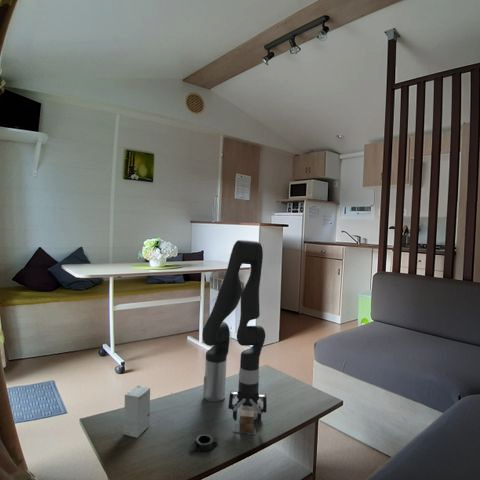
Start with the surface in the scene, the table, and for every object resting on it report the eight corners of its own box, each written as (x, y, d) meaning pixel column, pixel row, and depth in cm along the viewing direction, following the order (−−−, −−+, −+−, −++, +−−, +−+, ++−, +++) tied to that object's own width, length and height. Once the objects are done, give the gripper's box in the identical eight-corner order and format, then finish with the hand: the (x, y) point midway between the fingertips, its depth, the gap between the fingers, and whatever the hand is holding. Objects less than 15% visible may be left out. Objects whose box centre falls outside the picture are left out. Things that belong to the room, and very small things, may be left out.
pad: (233, 432, 129) (233, 431, 129) (235, 424, 134) (235, 423, 134) (255, 434, 129) (255, 433, 129) (256, 426, 134) (256, 425, 134)
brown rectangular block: (239, 431, 130) (240, 415, 129) (240, 425, 134) (241, 409, 133) (252, 432, 129) (253, 417, 129) (253, 426, 133) (254, 411, 133)
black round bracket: (218, 455, 117) (218, 446, 117) (188, 455, 116) (188, 446, 116) (218, 440, 125) (219, 432, 125) (190, 440, 124) (190, 432, 124)
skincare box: (137, 438, 123) (138, 397, 123) (122, 434, 125) (123, 394, 124) (150, 425, 131) (151, 387, 130) (136, 422, 133) (137, 384, 132)
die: (265, 423, 137) (265, 396, 143) (253, 420, 131) (253, 392, 137) (247, 424, 142) (248, 397, 147) (235, 421, 136) (236, 393, 141)
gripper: (228, 381, 127) (226, 424, 128) (267, 385, 126) (265, 428, 127) (231, 372, 135) (229, 413, 136) (268, 376, 133) (266, 417, 134)
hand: (246, 420), depth 131 cm, fingers open, 8 cm apart
